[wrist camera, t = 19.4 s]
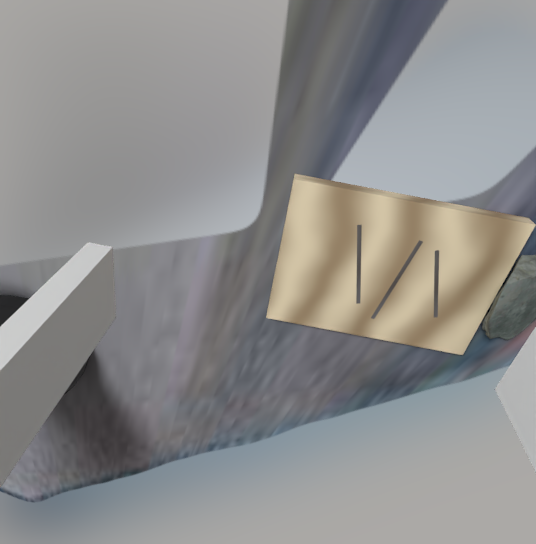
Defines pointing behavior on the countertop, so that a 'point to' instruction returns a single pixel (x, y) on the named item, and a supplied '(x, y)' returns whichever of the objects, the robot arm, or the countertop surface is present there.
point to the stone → (514, 302)
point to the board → (391, 264)
